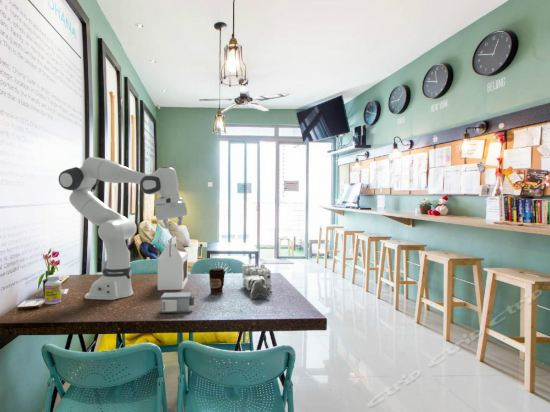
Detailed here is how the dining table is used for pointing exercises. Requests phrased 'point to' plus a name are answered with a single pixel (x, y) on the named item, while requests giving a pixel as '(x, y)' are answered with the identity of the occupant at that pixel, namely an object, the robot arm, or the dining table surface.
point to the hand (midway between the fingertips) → (173, 226)
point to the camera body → (179, 301)
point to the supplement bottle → (53, 290)
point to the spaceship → (257, 280)
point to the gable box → (173, 266)
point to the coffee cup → (216, 280)
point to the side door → (169, 305)
